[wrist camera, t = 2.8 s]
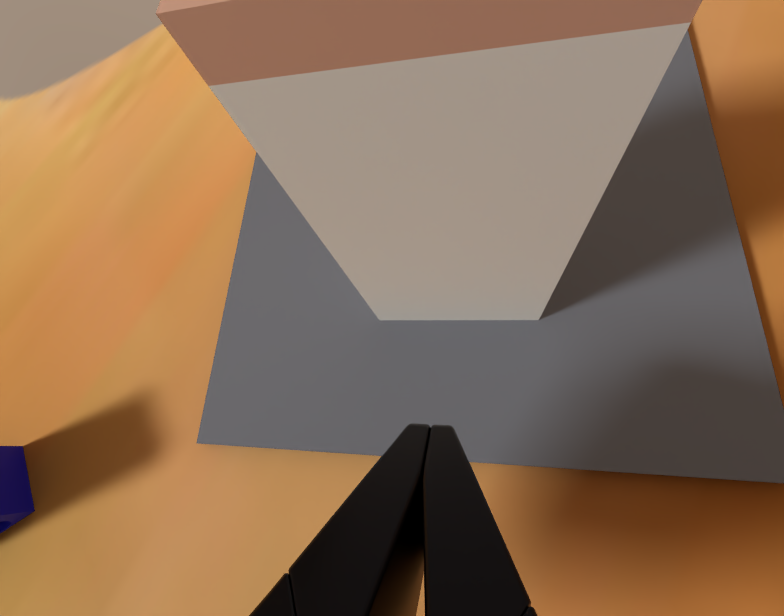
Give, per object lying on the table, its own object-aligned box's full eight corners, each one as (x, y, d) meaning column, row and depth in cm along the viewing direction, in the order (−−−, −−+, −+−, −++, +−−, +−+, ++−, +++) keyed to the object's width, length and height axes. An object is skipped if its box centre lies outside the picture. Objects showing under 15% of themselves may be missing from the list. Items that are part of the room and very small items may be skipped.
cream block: (538, 320, 15) (749, -92, 3) (379, 320, 16) (155, 12, 5) (532, 224, 16) (671, -299, 5) (385, 231, 17) (222, -176, 6)
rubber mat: (787, 483, 12) (802, 484, 12) (206, 443, 16) (196, 443, 16) (661, -39, 20) (666, -53, 19) (289, 21, 24) (285, 11, 23)
